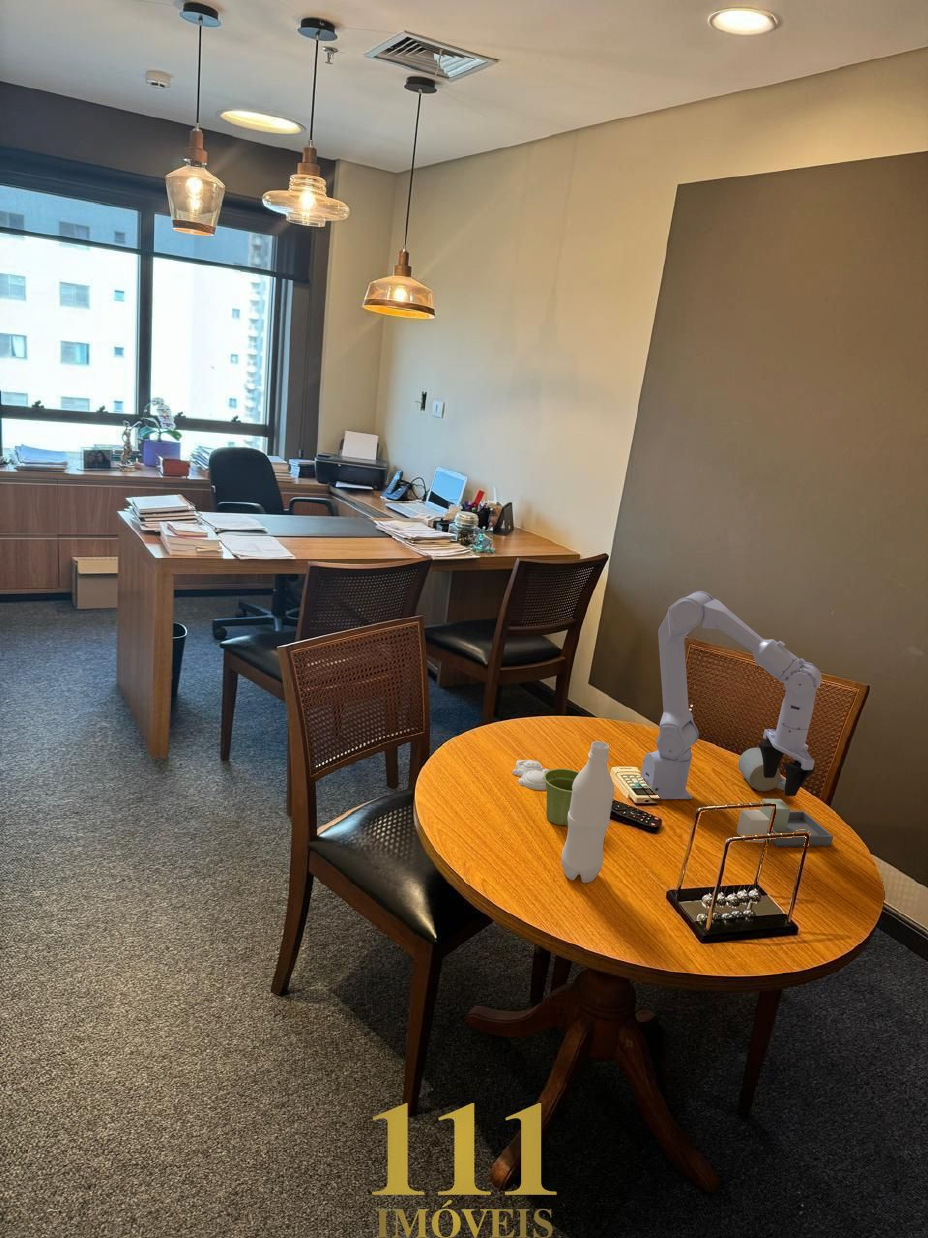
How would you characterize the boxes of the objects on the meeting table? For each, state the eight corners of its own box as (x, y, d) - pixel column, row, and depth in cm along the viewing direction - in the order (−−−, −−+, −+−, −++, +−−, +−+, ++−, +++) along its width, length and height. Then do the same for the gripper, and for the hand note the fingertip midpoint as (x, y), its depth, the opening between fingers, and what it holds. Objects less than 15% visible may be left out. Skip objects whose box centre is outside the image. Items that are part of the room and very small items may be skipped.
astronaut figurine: (547, 767, 187) (549, 755, 186) (556, 793, 175) (558, 780, 174) (509, 764, 186) (511, 752, 185) (515, 790, 175) (517, 777, 174)
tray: (777, 847, 162) (779, 837, 161) (750, 821, 171) (752, 811, 171) (830, 846, 164) (833, 836, 164) (801, 820, 174) (803, 810, 173)
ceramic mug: (747, 792, 184) (754, 761, 182) (734, 775, 192) (741, 745, 190) (793, 797, 185) (801, 765, 182) (779, 779, 192) (786, 749, 190)
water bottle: (590, 892, 141) (612, 758, 134) (552, 876, 144) (572, 745, 137) (606, 873, 147) (628, 744, 140) (569, 858, 150) (589, 732, 143)
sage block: (767, 830, 167) (772, 808, 165) (757, 820, 171) (762, 798, 169) (785, 831, 167) (790, 809, 166) (775, 820, 171) (780, 799, 170)
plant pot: (594, 821, 164) (601, 782, 162) (566, 836, 158) (573, 796, 155) (557, 802, 170) (562, 764, 168) (528, 816, 164) (534, 776, 161)
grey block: (746, 843, 162) (751, 820, 161) (736, 832, 166) (741, 810, 165) (764, 842, 163) (769, 820, 162) (754, 831, 167) (759, 809, 166)
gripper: (834, 739, 157) (818, 803, 161) (790, 709, 171) (776, 769, 175) (801, 739, 156) (786, 804, 159) (760, 709, 169) (746, 769, 173)
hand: (779, 786), depth 167 cm, fingers open, 7 cm apart
